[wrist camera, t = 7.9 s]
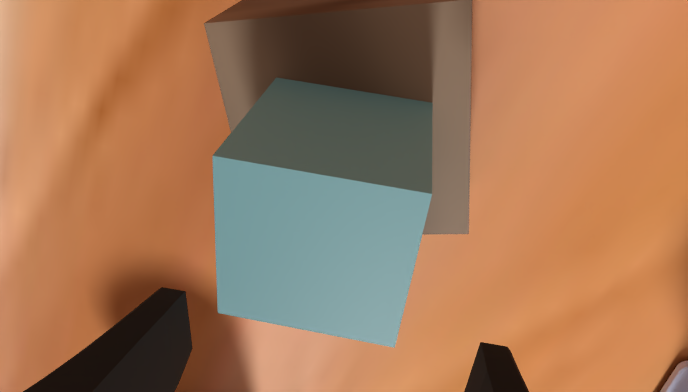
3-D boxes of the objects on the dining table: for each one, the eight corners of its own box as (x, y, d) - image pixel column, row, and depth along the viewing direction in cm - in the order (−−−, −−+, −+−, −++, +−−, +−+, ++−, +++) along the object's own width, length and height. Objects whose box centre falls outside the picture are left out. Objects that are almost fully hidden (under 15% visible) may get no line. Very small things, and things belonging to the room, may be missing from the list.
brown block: (464, -24, 17) (472, -1, 14) (462, 179, 21) (468, 233, 18) (244, -2, 19) (203, 23, 15) (282, 183, 23) (256, 235, 20)
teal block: (432, 102, 16) (432, 193, 11) (404, 231, 18) (394, 347, 14) (276, 77, 16) (212, 155, 11) (271, 207, 19) (217, 312, 14)
